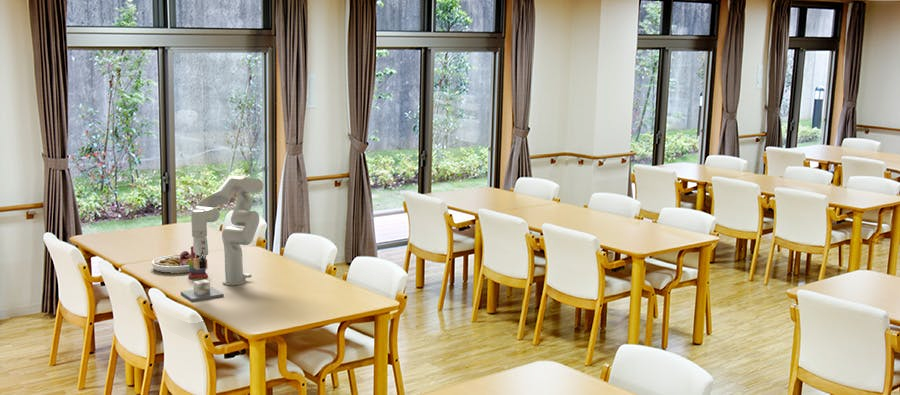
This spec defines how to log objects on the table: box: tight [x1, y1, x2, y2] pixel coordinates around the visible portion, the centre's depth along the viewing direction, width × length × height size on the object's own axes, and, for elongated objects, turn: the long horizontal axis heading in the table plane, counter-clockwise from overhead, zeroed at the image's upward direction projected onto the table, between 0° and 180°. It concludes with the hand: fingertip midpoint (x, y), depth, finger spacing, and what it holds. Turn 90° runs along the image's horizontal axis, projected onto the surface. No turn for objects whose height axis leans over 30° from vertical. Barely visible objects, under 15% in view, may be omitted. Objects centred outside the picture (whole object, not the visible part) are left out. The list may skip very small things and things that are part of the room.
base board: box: [180, 286, 225, 303], centre depth 490 cm, size 17×17×2 cm
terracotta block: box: [193, 257, 208, 270], centre depth 487 cm, size 6×6×5 cm
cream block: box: [193, 279, 211, 295], centre depth 490 cm, size 6×6×6 cm
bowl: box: [151, 250, 192, 274], centre depth 547 cm, size 30×30×8 cm
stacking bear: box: [187, 245, 209, 279], centre depth 527 cm, size 11×10×18 cm
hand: (200, 266), depth 487 cm, fingers closed on terracotta block, 5 cm apart
